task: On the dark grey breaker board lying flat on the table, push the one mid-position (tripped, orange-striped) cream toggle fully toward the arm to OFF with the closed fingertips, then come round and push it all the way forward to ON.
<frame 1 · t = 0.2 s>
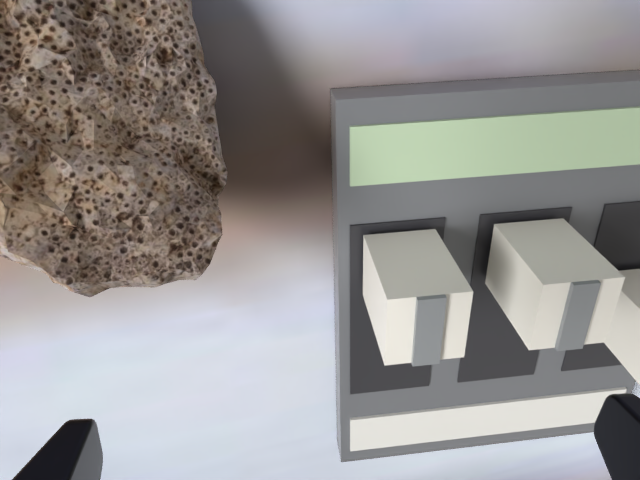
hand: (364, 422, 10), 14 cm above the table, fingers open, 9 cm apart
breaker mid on: (548, 281, 22), point 4 cm above the table, slide at 3.0 cm
breaker panel: (496, 283, 27), on the table
breaker back on: (412, 294, 21), point 4 cm above the table, slide at 3.0 cm
coral: (70, 74, 20), on the table
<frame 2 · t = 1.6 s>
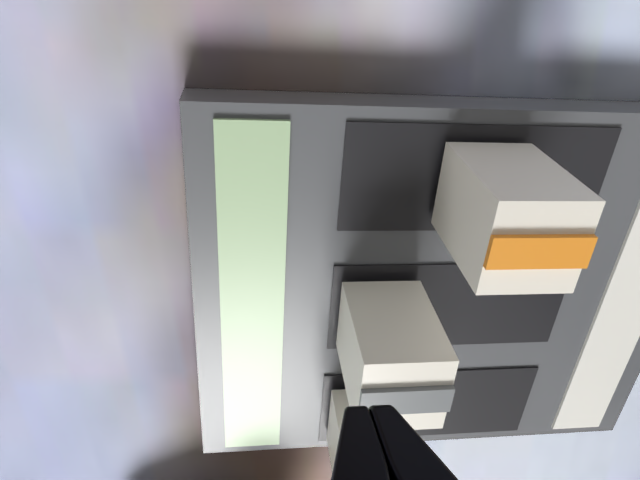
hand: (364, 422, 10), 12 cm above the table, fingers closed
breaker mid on: (390, 353, 19), point 4 cm above the table, slide at 3.0 cm
breaker panel: (436, 283, 23), on the table
breaker tripped: (507, 214, 17), point 4 cm above the table, slide at 0.0 cm
breaker back on: (373, 457, 22), point 4 cm above the table, slide at 3.0 cm
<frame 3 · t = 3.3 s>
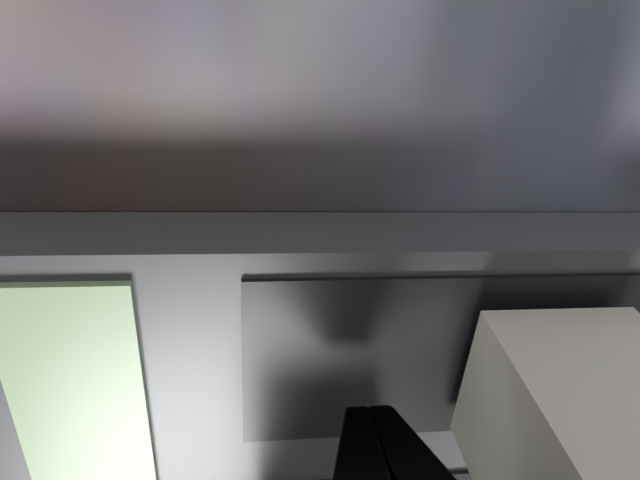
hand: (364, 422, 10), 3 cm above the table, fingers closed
breaker panel: (420, 471, 15), on the table
breaker tripped: (602, 470, 9), point 4 cm above the table, slide at -1.0 cm, touching gripper
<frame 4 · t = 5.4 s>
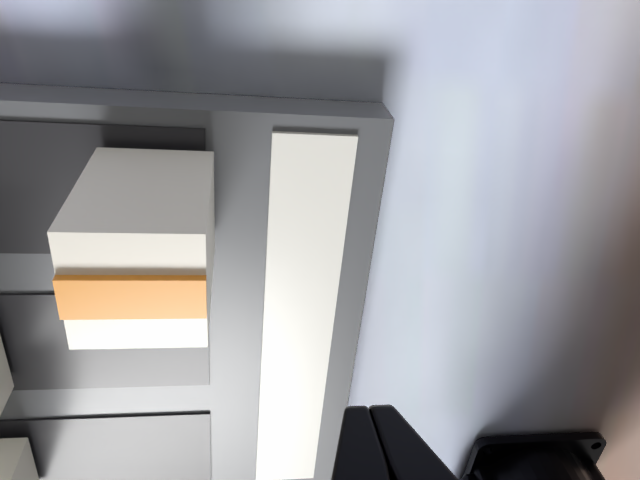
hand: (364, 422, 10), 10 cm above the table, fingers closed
breaker panel: (70, 313, 19), on the table
breaker tripped: (148, 242, 13), point 4 cm above the table, slide at -3.5 cm
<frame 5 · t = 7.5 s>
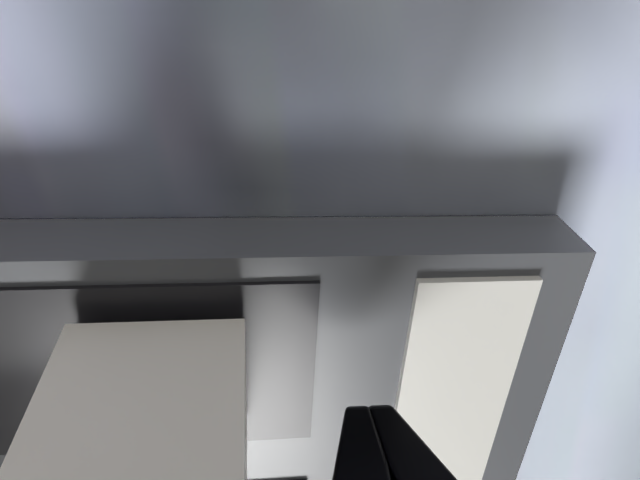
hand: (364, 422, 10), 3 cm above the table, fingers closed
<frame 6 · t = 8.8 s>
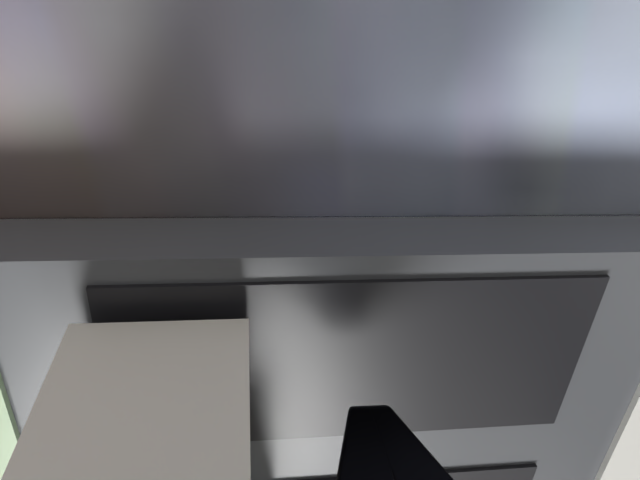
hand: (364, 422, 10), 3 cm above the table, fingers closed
breaker panel: (327, 476, 15), on the table
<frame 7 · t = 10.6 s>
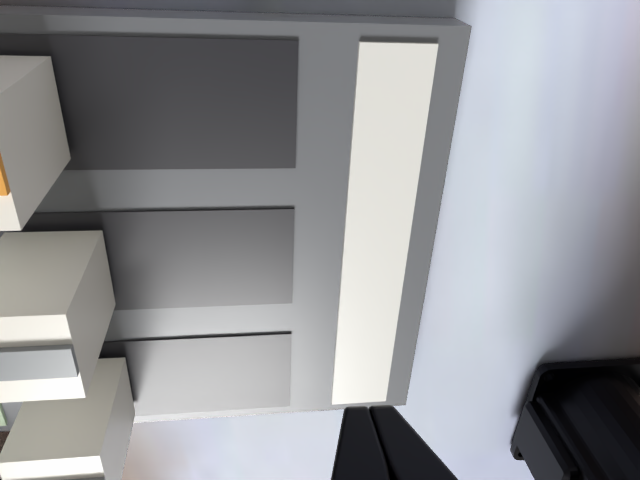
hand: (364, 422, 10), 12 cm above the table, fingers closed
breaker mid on: (41, 312, 16), point 4 cm above the table, slide at 3.0 cm
breaker panel: (161, 239, 20), on the table
breaker back on: (75, 436, 19), point 4 cm above the table, slide at 3.0 cm
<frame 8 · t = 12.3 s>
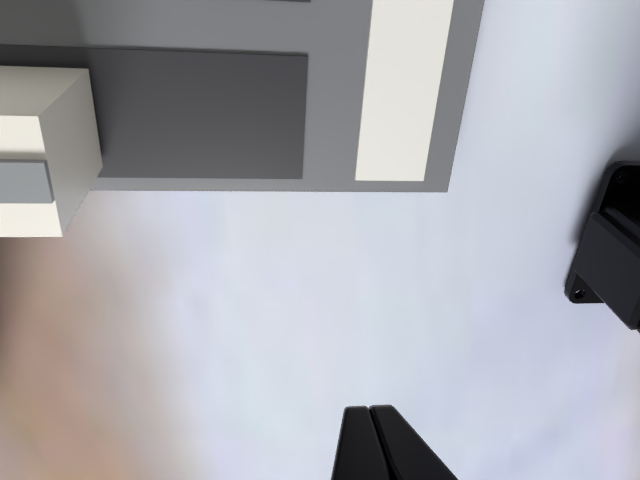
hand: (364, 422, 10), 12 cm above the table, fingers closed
breaker back on: (14, 146, 14), point 4 cm above the table, slide at 3.0 cm
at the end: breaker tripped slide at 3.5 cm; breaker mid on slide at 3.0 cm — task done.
